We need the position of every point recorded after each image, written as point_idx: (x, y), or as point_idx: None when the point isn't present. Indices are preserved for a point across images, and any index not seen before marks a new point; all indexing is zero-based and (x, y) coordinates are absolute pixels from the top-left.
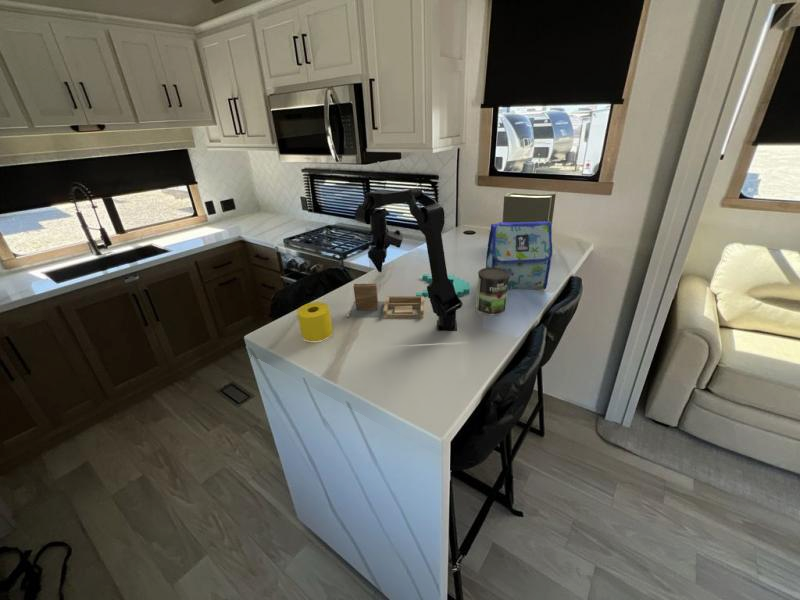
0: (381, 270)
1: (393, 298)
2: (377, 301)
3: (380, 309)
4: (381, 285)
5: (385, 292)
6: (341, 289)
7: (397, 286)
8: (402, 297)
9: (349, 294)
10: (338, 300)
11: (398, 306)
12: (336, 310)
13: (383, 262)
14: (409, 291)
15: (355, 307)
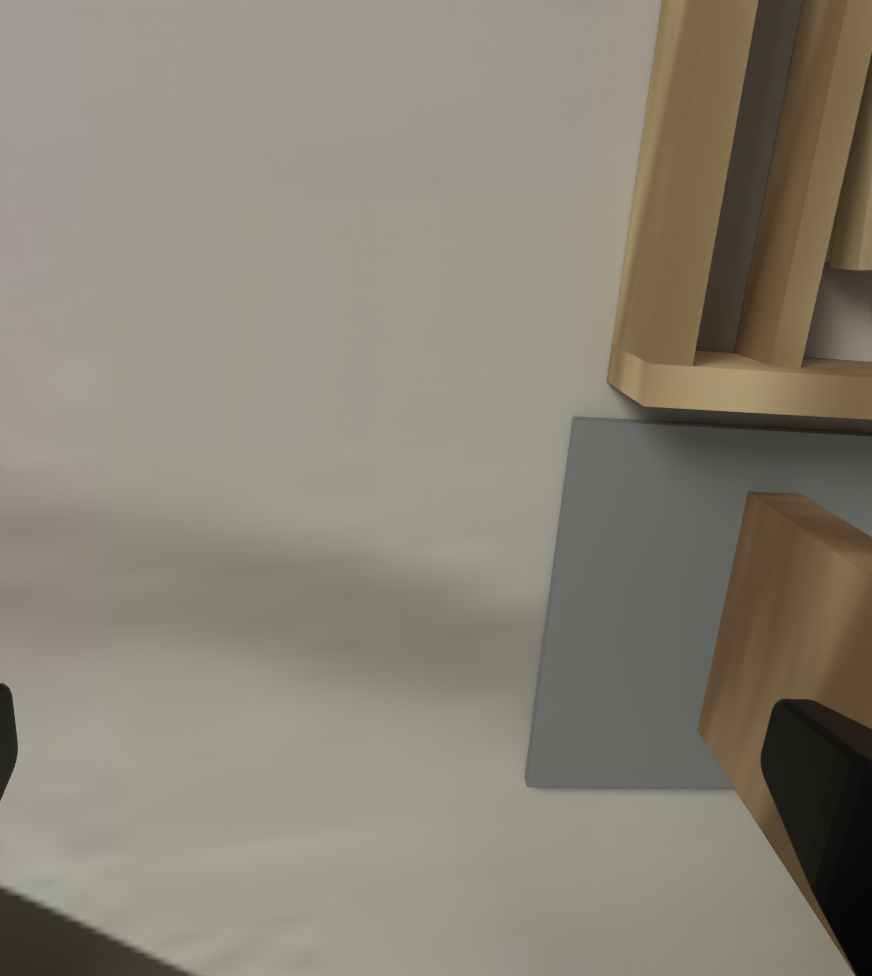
0: (864, 725)
1: (697, 294)
2: (841, 535)
3: (787, 462)
4: (13, 505)
5: (260, 429)
6: (171, 960)
7: (31, 241)
8: (733, 130)
9: (310, 858)
10: (455, 933)
11: (870, 208)
12: (678, 906)
13: (10, 711)
14: (225, 13)
15: (678, 750)
